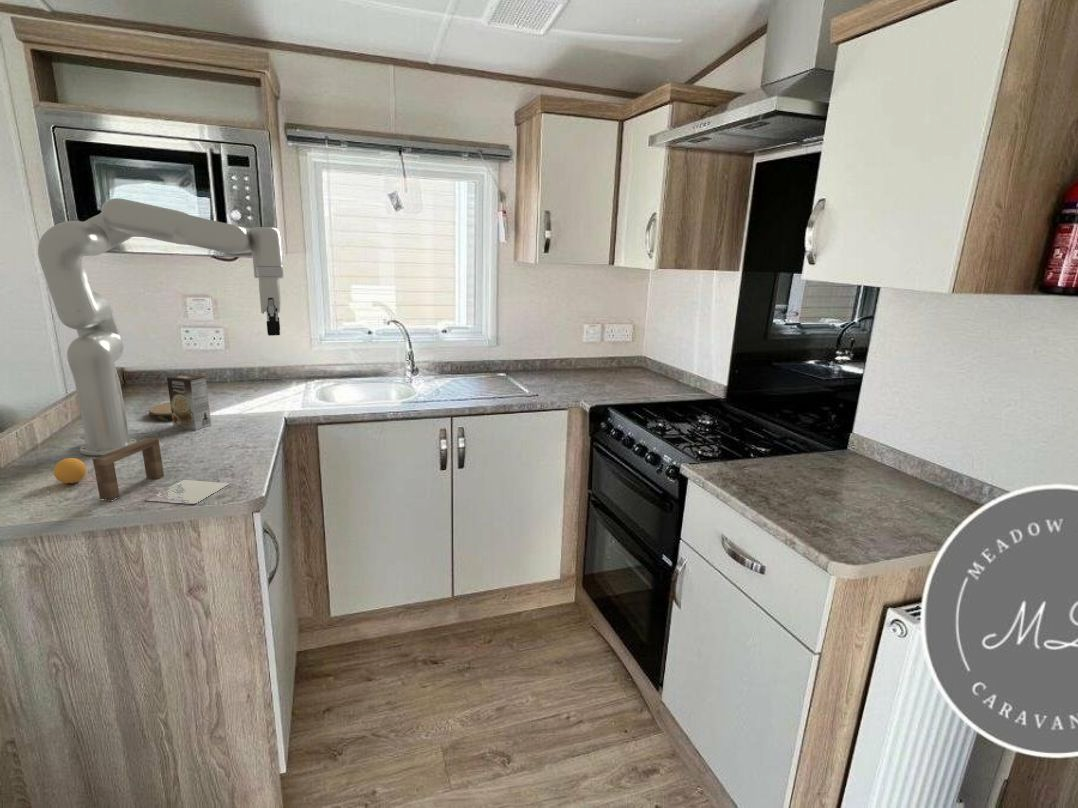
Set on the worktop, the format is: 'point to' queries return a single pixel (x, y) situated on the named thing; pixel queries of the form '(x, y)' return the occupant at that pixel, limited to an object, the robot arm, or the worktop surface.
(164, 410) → the wood slice
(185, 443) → the worktop surface
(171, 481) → the worktop surface
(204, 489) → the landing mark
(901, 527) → the worktop surface
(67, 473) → the ball
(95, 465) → the bridge
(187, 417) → the coffee box
